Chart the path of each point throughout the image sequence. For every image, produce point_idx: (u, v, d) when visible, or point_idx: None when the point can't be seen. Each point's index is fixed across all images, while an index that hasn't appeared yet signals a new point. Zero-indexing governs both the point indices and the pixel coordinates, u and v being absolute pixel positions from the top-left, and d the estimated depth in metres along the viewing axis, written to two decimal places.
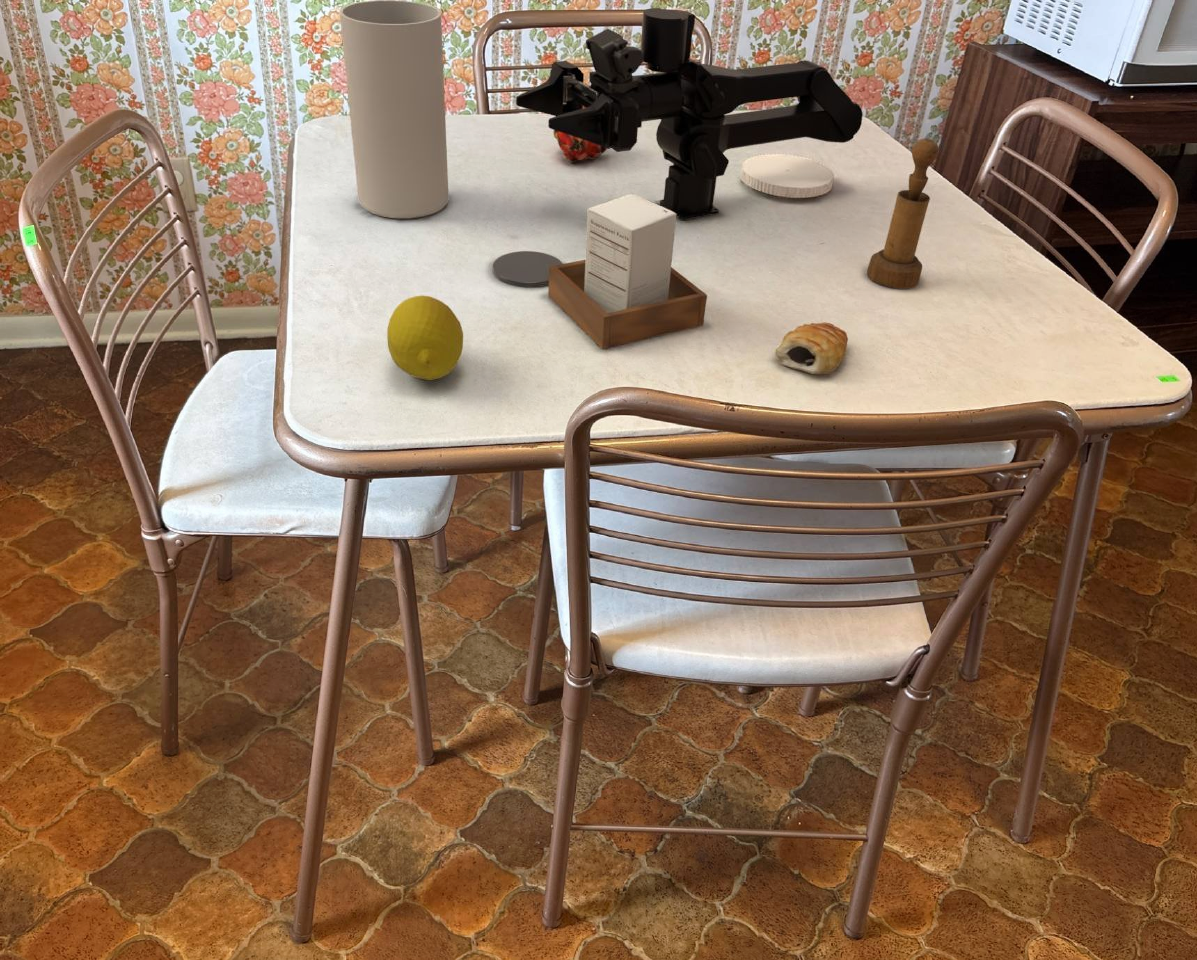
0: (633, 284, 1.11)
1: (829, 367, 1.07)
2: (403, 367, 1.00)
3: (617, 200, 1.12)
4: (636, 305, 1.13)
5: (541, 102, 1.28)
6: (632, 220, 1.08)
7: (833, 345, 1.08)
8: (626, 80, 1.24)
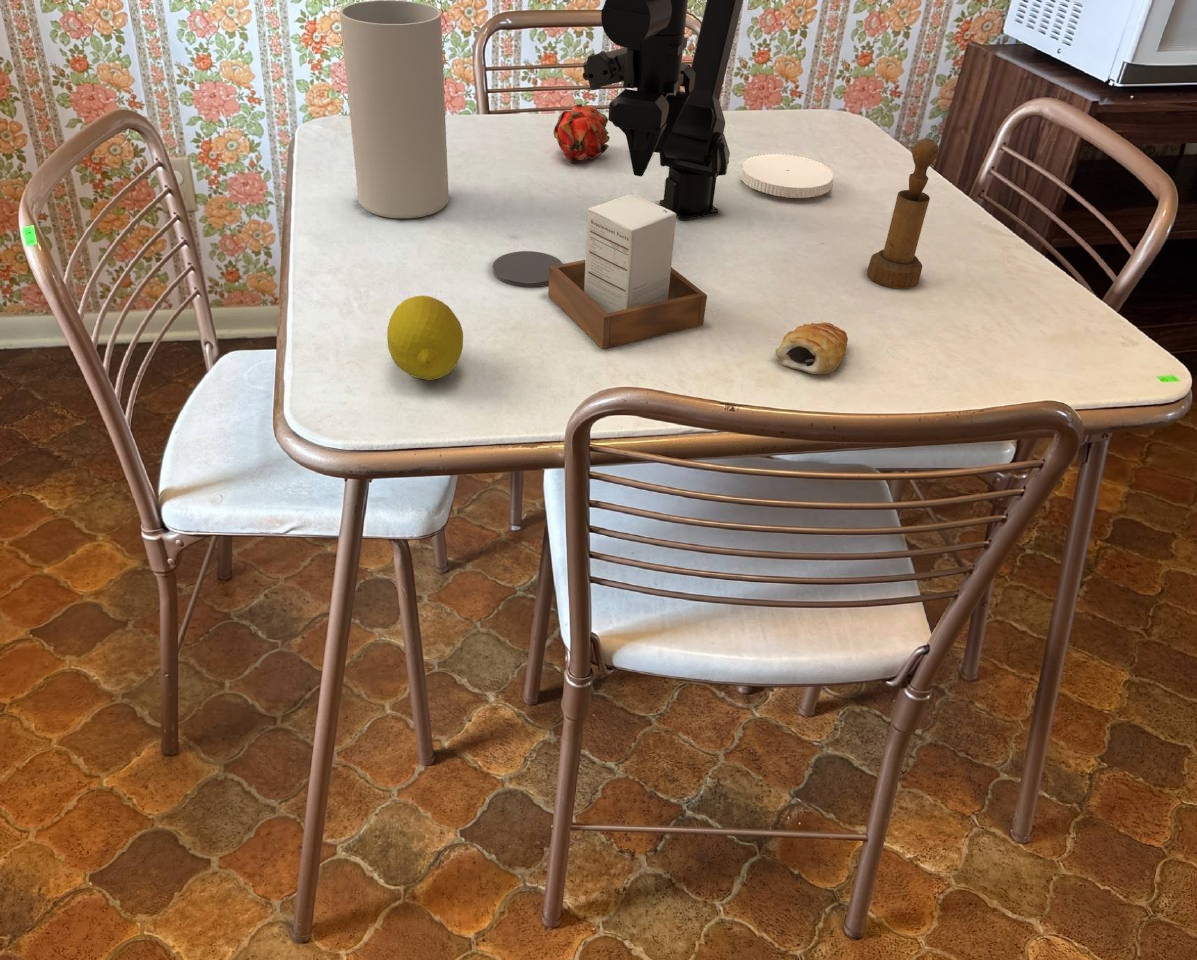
0: (633, 284, 1.11)
1: (829, 367, 1.07)
2: (403, 367, 1.00)
3: (617, 200, 1.12)
4: (636, 305, 1.13)
5: None
6: (632, 220, 1.08)
7: (833, 345, 1.08)
8: (624, 64, 1.15)
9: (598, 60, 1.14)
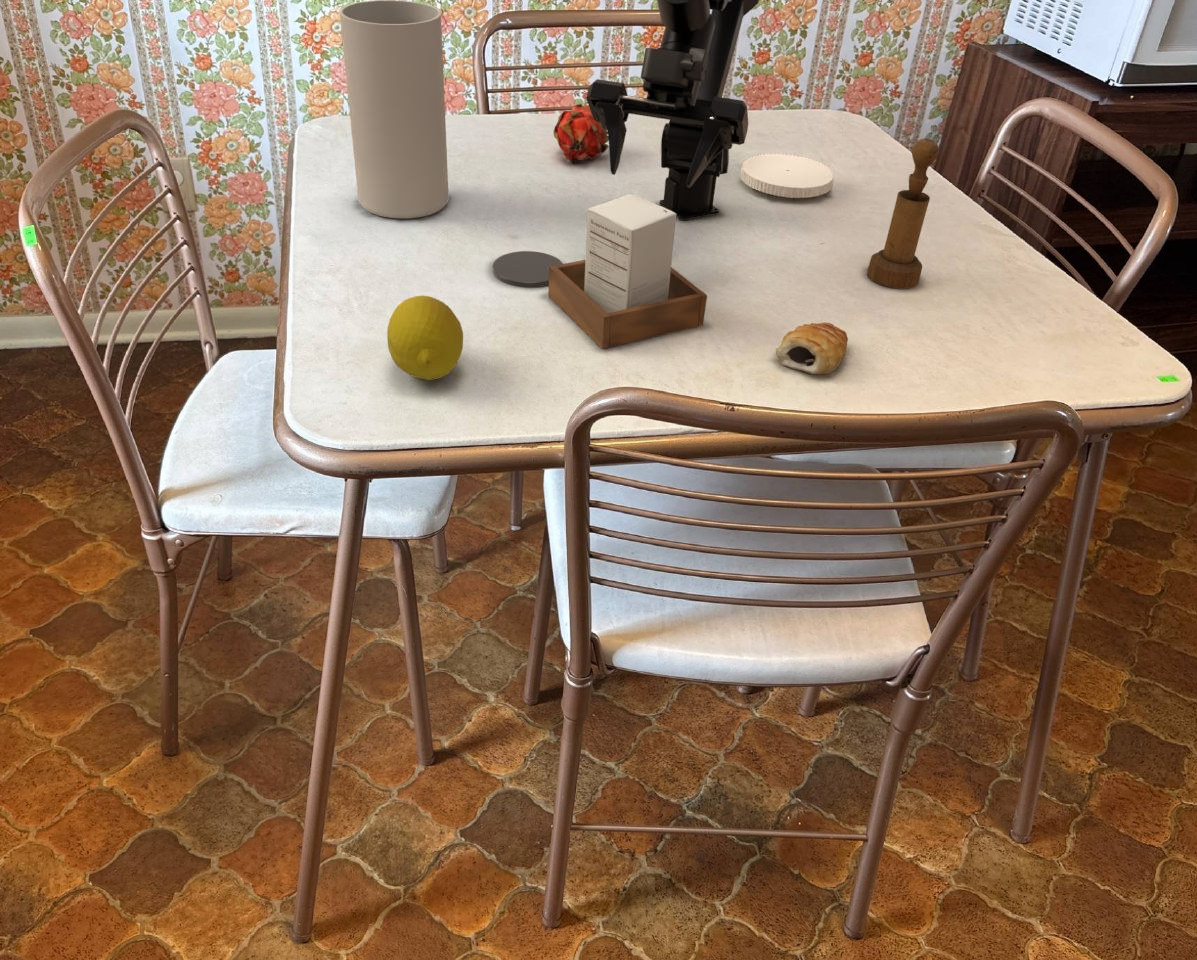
0: (633, 284, 1.11)
1: (829, 367, 1.07)
2: (403, 367, 1.00)
3: (617, 200, 1.12)
4: (636, 305, 1.13)
5: (619, 146, 1.17)
6: (632, 220, 1.08)
7: (833, 345, 1.08)
8: None
9: (706, 57, 1.10)
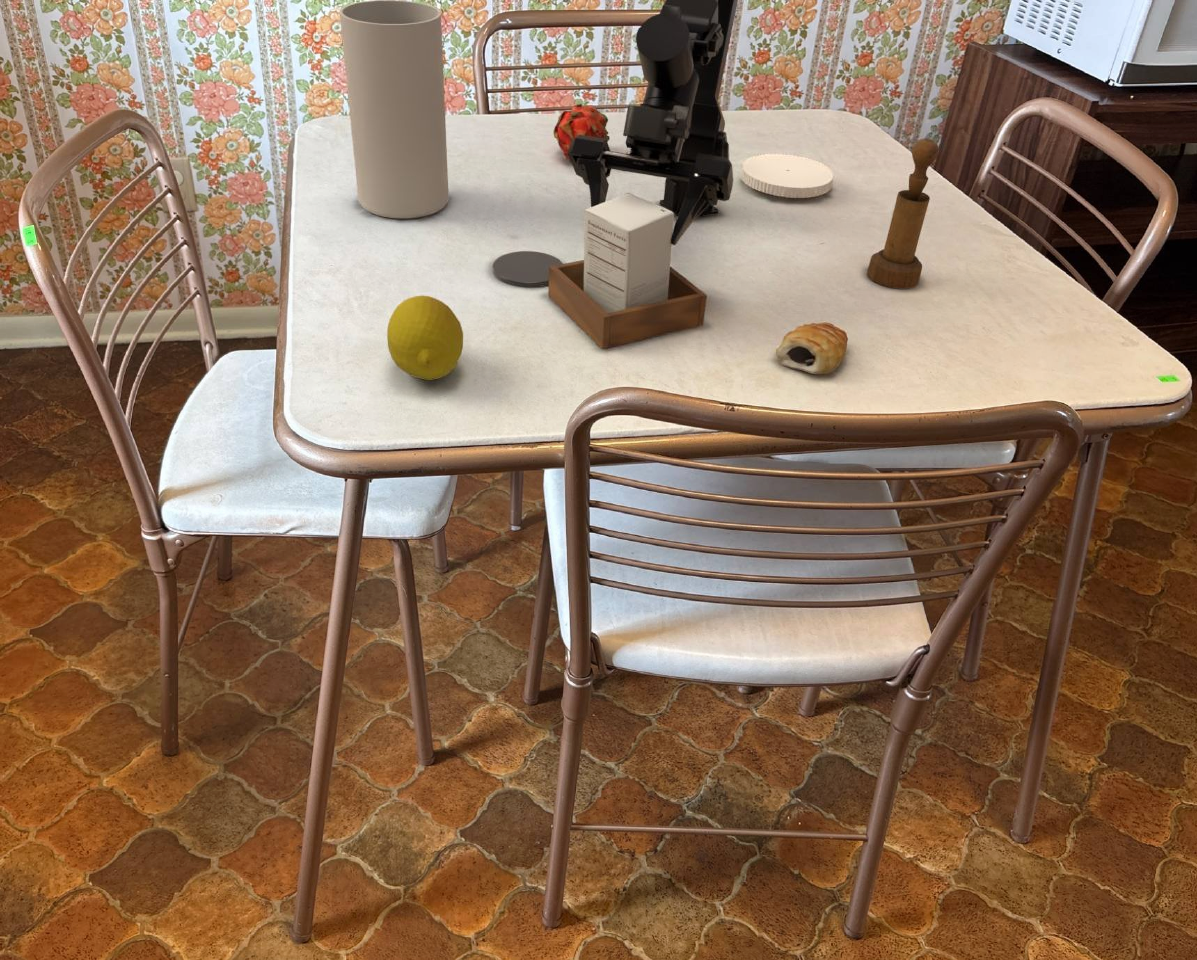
0: (631, 285, 1.11)
1: (829, 367, 1.07)
2: (403, 367, 1.00)
3: (614, 200, 1.12)
4: (635, 305, 1.13)
5: (601, 202, 1.15)
6: (629, 221, 1.08)
7: (833, 345, 1.08)
8: None
9: (690, 115, 1.08)
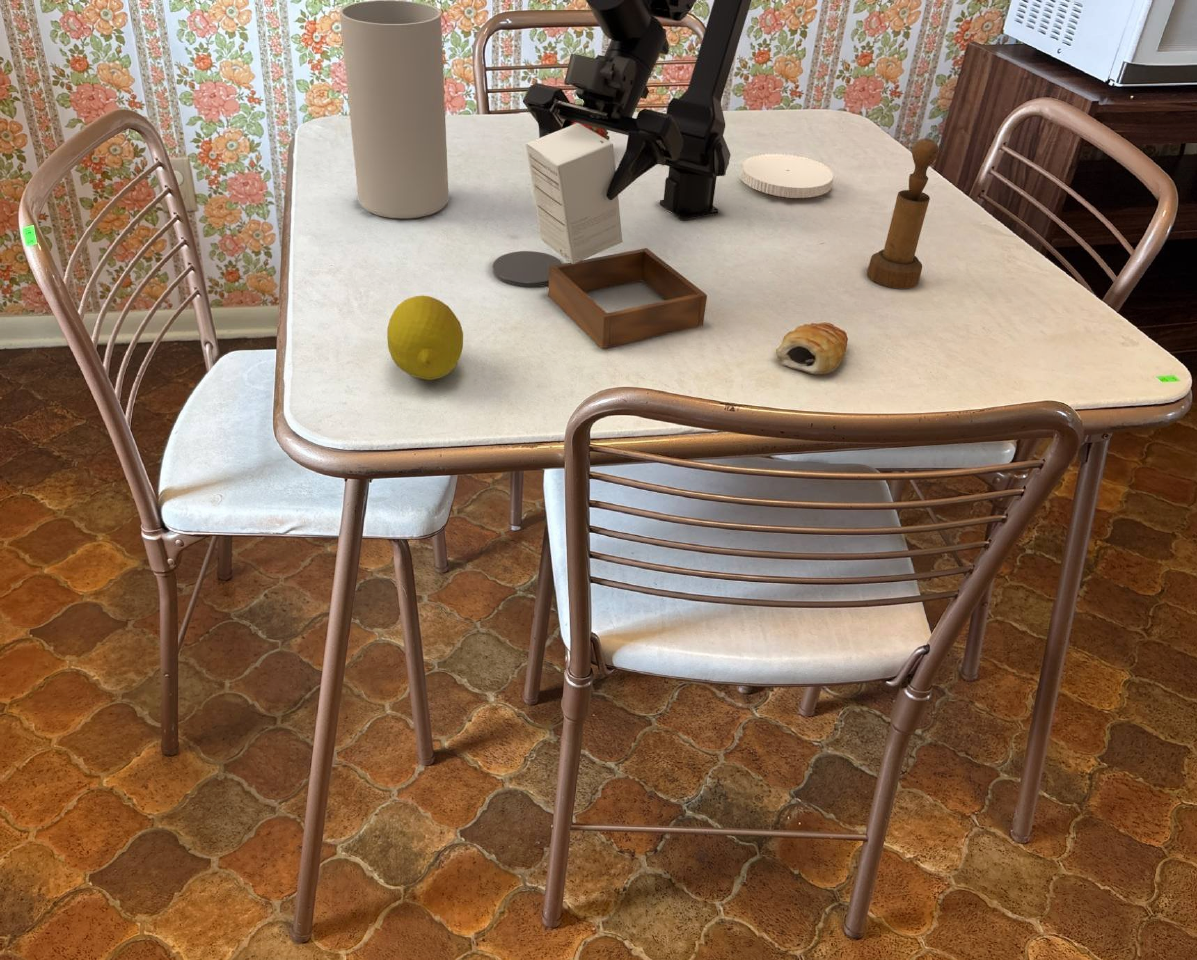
0: (571, 219, 1.11)
1: (829, 367, 1.07)
2: (403, 367, 1.00)
3: (559, 132, 1.11)
4: (580, 239, 1.13)
5: None
6: (562, 154, 1.07)
7: (833, 345, 1.08)
8: None
9: (633, 67, 1.06)
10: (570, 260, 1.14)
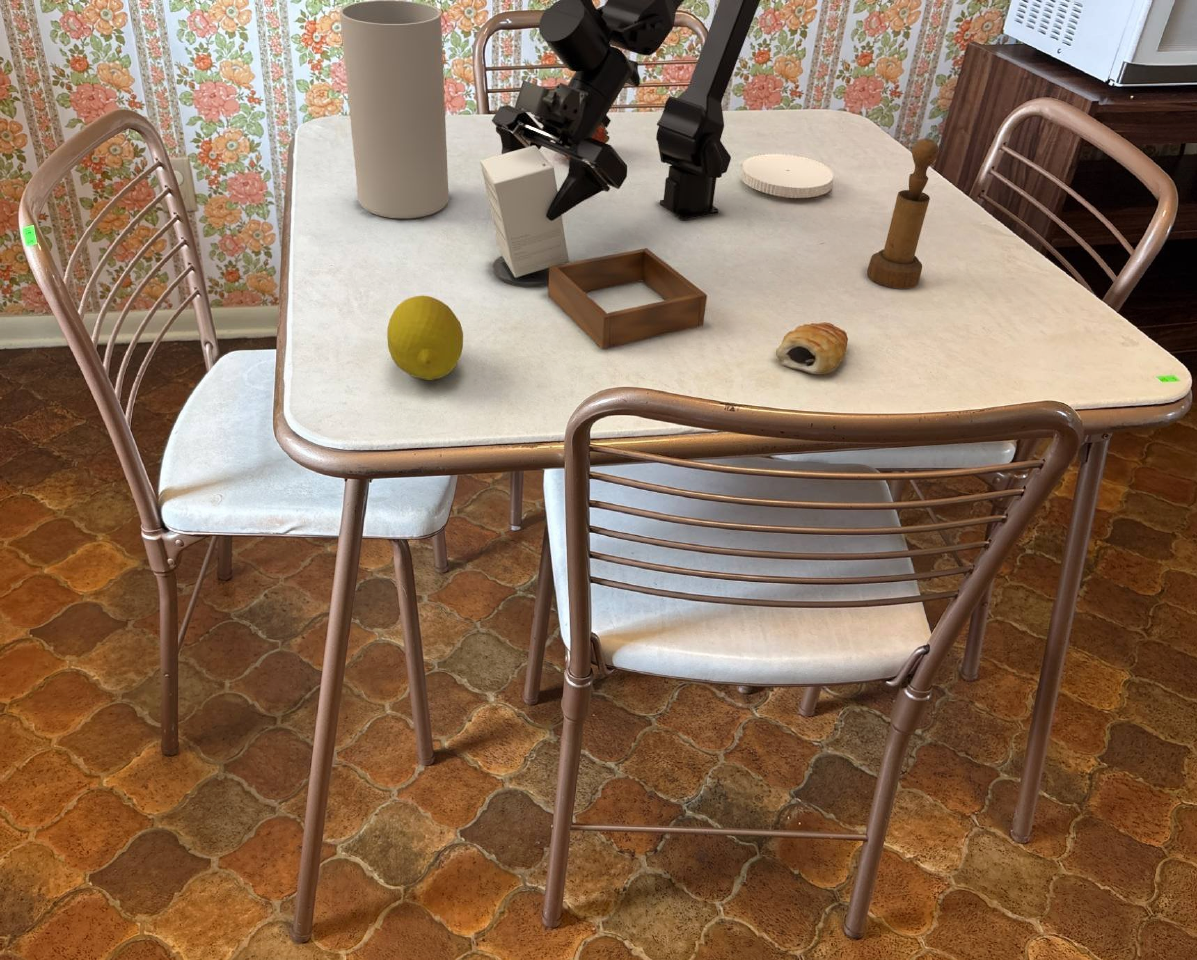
0: (510, 234, 1.17)
1: (829, 367, 1.07)
2: (403, 367, 1.00)
3: (513, 152, 1.18)
4: (521, 254, 1.19)
5: None
6: (503, 173, 1.14)
7: (833, 345, 1.08)
8: None
9: (577, 97, 1.11)
10: (513, 273, 1.21)
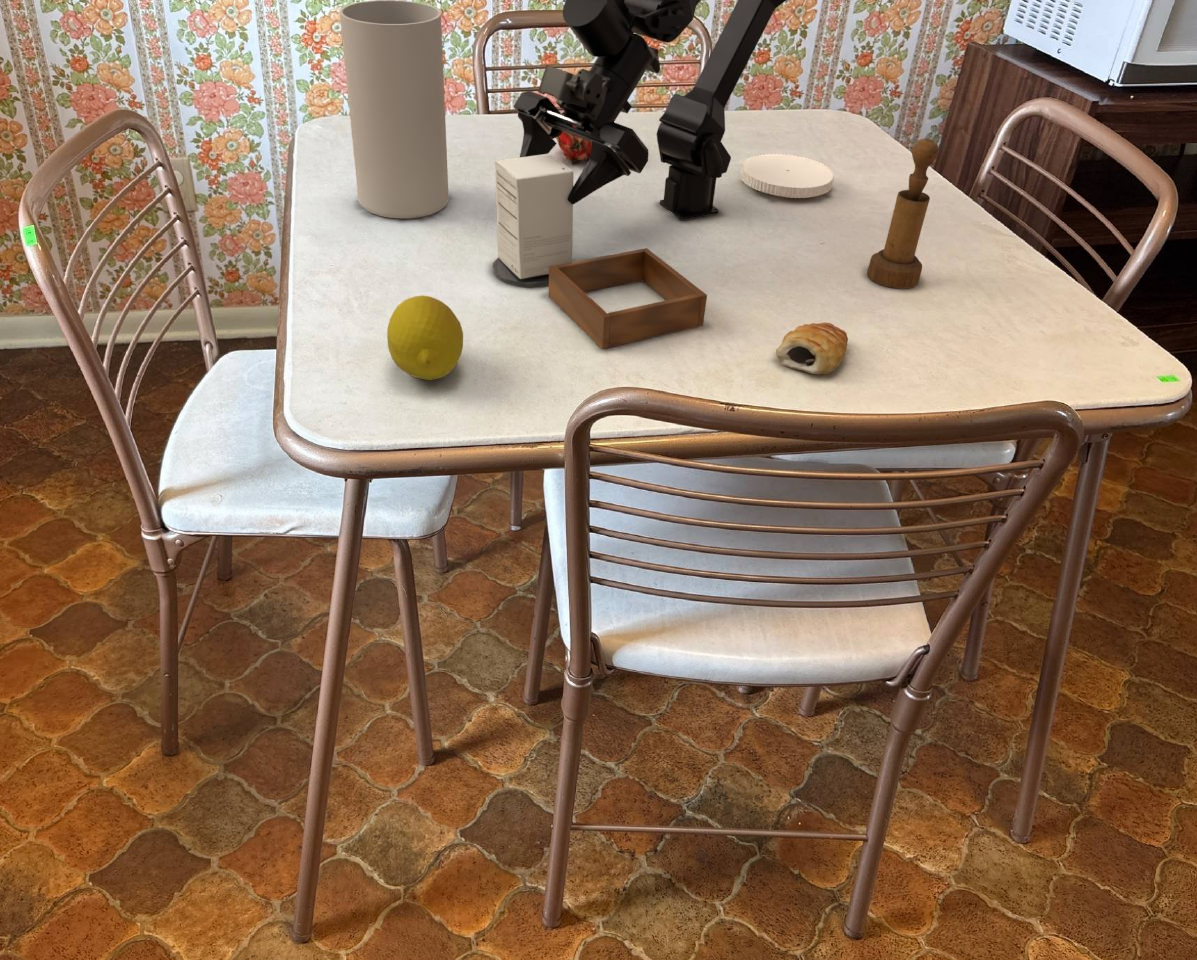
0: (523, 234, 1.18)
1: (829, 367, 1.07)
2: (403, 367, 1.00)
3: (528, 157, 1.20)
4: (530, 255, 1.19)
5: None
6: (524, 172, 1.15)
7: (833, 345, 1.08)
8: None
9: (600, 82, 1.13)
10: (518, 275, 1.21)
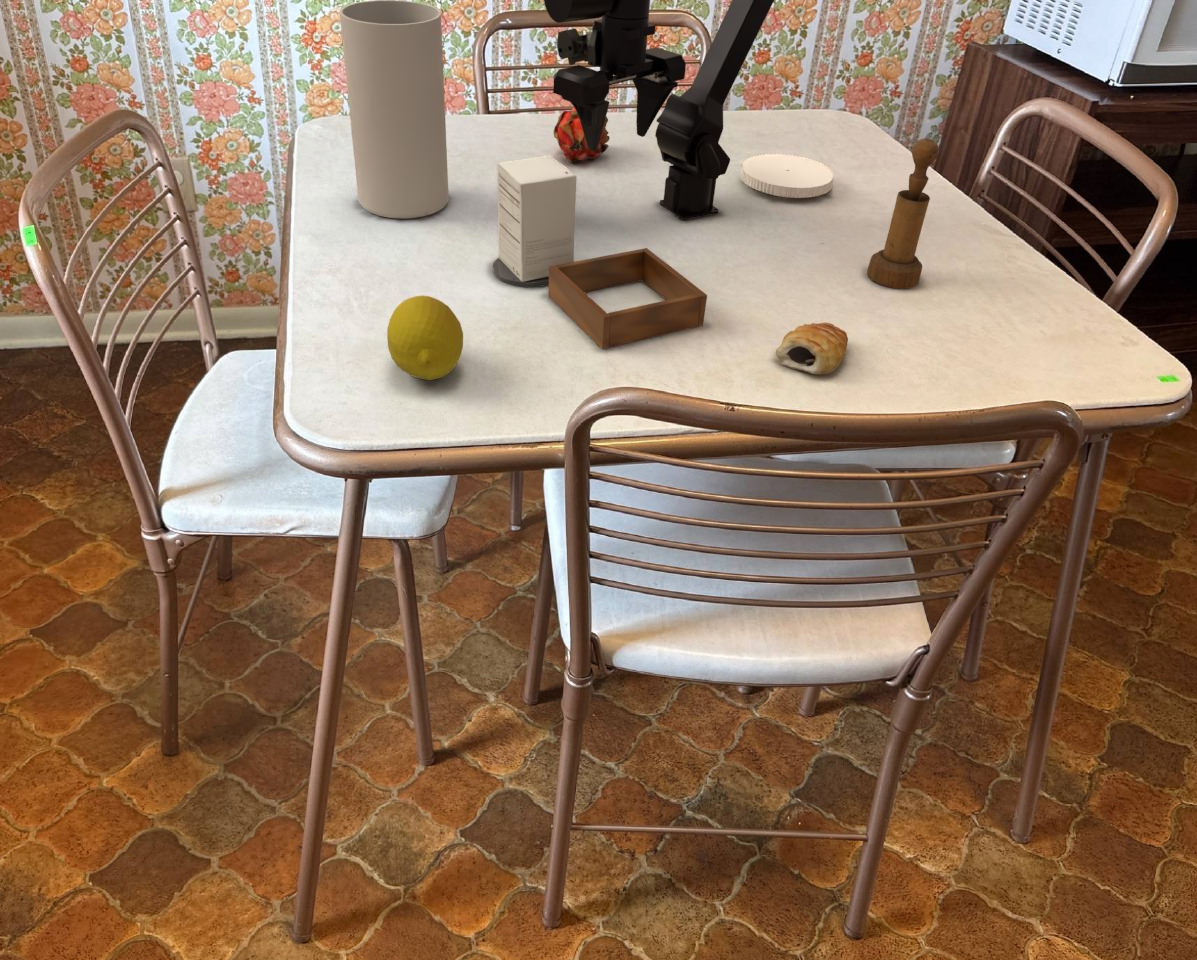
0: (526, 237, 1.18)
1: (829, 367, 1.07)
2: (403, 367, 1.00)
3: (530, 159, 1.19)
4: (532, 259, 1.20)
5: (647, 108, 1.29)
6: (528, 176, 1.15)
7: (833, 345, 1.08)
8: None
9: (565, 36, 1.22)
10: (520, 278, 1.21)
